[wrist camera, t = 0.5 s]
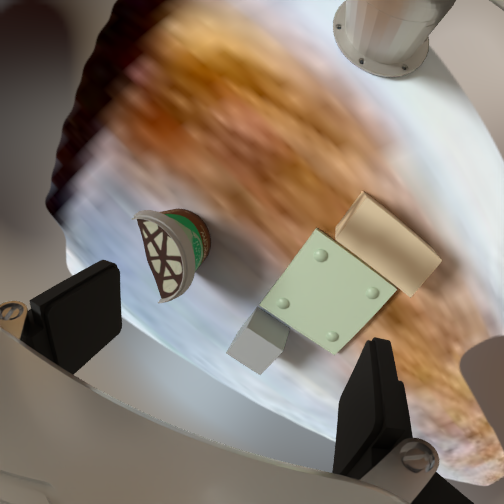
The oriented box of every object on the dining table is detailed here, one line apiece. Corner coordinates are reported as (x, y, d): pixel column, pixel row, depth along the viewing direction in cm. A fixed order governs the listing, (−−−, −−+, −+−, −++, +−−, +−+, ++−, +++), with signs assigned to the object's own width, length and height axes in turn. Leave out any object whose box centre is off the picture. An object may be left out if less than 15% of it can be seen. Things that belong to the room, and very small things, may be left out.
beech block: (362, 190, 37) (367, 197, 32) (429, 245, 37) (442, 260, 31) (335, 226, 40) (335, 239, 34) (402, 278, 39) (410, 297, 34)
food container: (227, 273, 46) (200, 304, 37) (191, 277, 48) (159, 307, 39) (206, 191, 43) (171, 204, 34) (170, 199, 45) (130, 214, 35)
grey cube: (257, 306, 46) (246, 327, 41) (290, 328, 46) (283, 351, 41) (238, 331, 49) (226, 353, 43) (268, 351, 49) (260, 375, 43)
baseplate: (316, 227, 40) (316, 229, 39) (395, 286, 40) (397, 290, 39) (260, 302, 46) (259, 305, 45) (334, 351, 46) (334, 355, 44)
